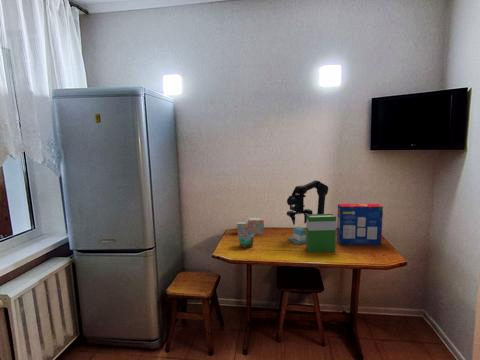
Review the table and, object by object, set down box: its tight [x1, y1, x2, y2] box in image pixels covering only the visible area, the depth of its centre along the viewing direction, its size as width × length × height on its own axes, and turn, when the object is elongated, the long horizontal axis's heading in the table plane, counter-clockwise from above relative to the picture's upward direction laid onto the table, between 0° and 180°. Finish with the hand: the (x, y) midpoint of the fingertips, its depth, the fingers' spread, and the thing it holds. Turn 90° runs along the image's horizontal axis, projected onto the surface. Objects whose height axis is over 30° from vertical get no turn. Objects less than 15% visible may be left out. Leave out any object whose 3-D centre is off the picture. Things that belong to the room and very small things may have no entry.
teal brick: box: [292, 226, 306, 236], centre depth 200 cm, size 5×8×4 cm, turn 31°
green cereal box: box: [305, 213, 337, 253], centre depth 183 cm, size 18×7×24 cm, turn 90°
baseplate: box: [288, 236, 306, 246], centre depth 201 cm, size 12×12×2 cm
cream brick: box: [293, 233, 306, 241], centre depth 201 cm, size 5×8×4 cm, turn 19°
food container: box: [237, 231, 255, 250], centre depth 191 cm, size 12×6×10 cm, turn 68°
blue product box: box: [336, 203, 384, 247], centre depth 193 cm, size 28×8×28 cm, turn 83°
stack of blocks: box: [236, 217, 265, 236], centre depth 220 cm, size 21×6×12 cm, turn 90°
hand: (299, 224), depth 199 cm, fingers open, 9 cm apart
